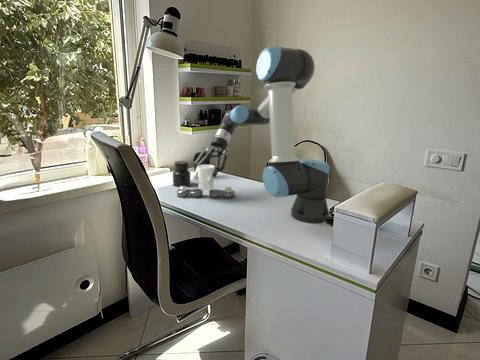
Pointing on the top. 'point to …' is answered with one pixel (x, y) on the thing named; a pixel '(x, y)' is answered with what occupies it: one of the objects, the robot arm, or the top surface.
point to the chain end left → (189, 192)
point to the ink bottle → (181, 174)
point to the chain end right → (222, 193)
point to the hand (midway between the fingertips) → (201, 180)
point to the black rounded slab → (197, 157)
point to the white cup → (205, 176)
